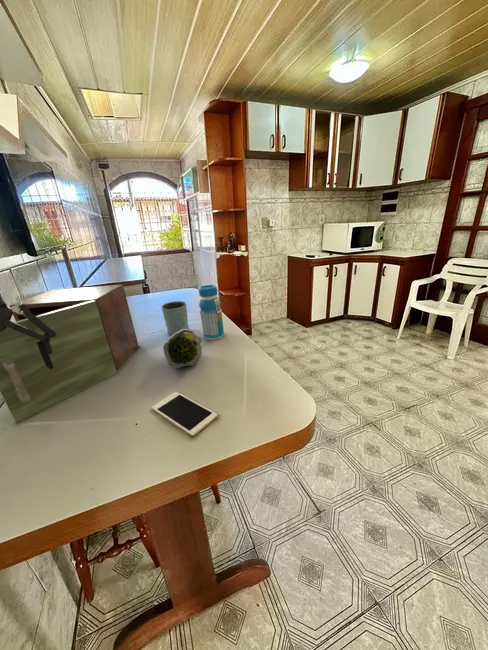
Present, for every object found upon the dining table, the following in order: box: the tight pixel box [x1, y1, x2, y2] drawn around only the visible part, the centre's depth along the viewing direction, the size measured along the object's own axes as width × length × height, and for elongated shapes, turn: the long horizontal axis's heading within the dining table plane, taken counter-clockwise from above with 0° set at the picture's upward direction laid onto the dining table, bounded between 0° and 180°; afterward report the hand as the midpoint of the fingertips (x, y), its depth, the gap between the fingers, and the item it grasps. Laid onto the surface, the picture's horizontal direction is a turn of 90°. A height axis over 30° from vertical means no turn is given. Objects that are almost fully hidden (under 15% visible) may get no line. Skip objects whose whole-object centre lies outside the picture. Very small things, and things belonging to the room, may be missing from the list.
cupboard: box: [8, 284, 139, 372], centre depth 91 cm, size 18×26×24 cm
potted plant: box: [162, 328, 203, 369], centre depth 85 cm, size 12×13×15 cm
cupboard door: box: [0, 300, 118, 425], centre depth 70 cm, size 7×26×24 cm, turn 143°
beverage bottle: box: [198, 284, 225, 341], centre depth 103 cm, size 8×8×20 cm
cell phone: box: [151, 391, 218, 437], centre depth 65 cm, size 8×16×1 cm, turn 50°
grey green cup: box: [161, 300, 189, 336], centre depth 111 cm, size 10×10×12 cm
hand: (16, 381), depth 60 cm, fingers open, 13 cm apart
